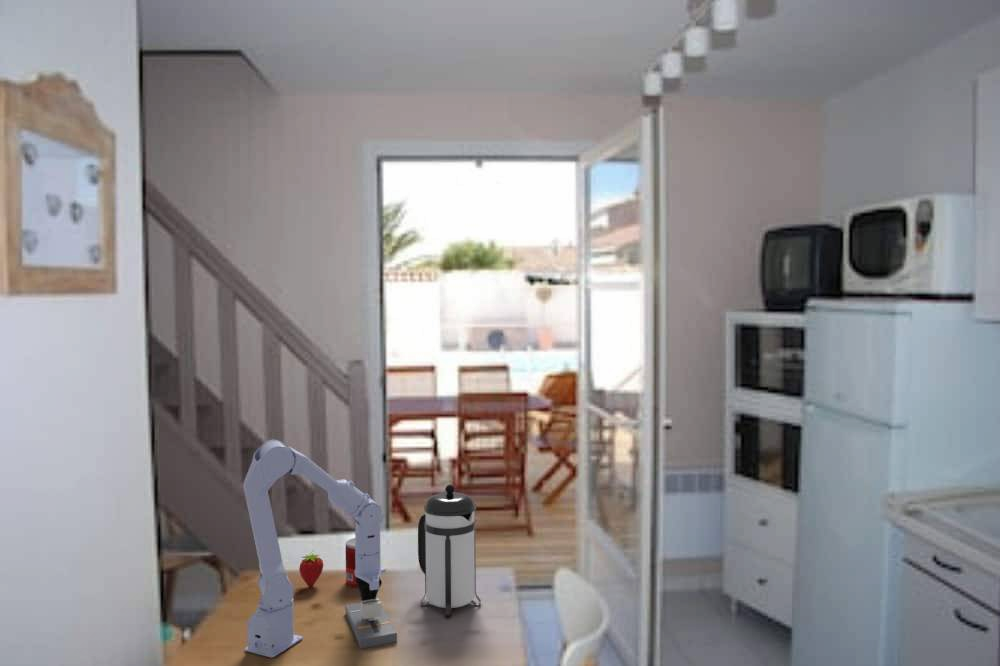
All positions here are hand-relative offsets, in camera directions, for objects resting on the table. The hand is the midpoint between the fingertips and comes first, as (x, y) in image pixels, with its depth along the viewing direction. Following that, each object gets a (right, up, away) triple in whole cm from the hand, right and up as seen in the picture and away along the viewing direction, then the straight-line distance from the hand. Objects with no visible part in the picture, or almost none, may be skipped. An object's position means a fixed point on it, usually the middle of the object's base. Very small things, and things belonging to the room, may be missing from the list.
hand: (368, 609), depth 157 cm
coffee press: (+17, -3, +11) cm, 21 cm away
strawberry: (-19, -3, +22) cm, 30 cm away
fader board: (+1, -3, -1) cm, 4 cm away
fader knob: (+1, -1, -3) cm, 3 cm away
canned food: (-7, -3, +25) cm, 26 cm away
